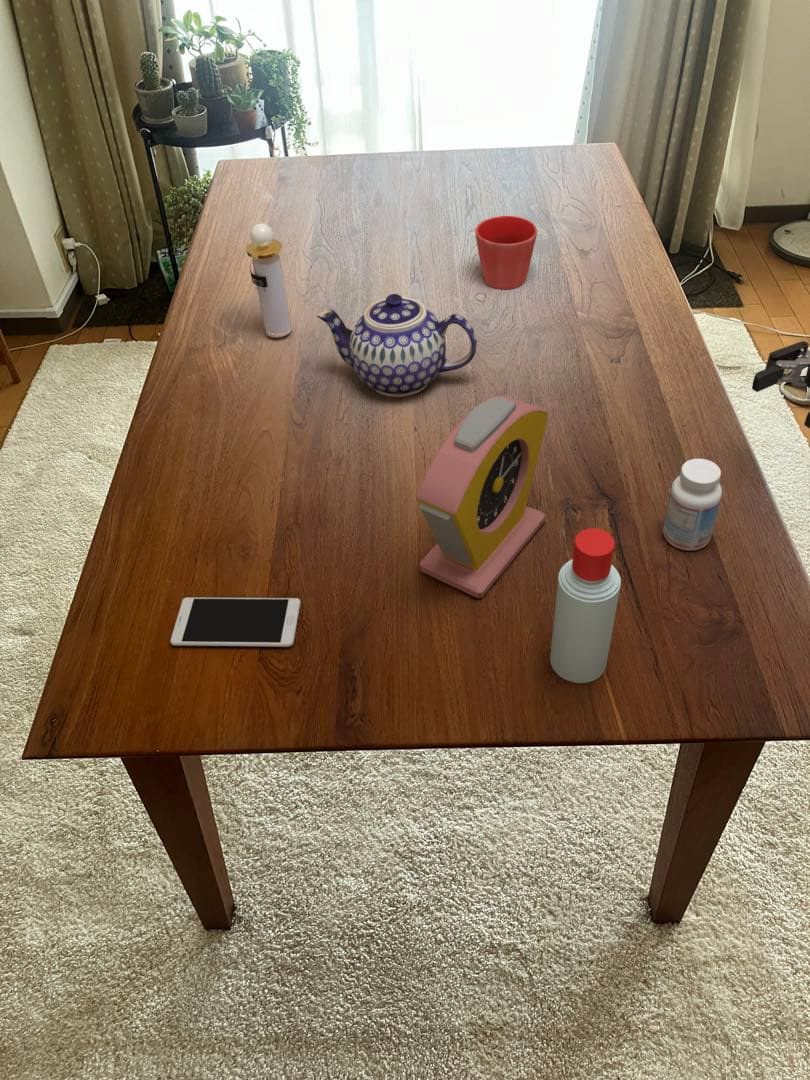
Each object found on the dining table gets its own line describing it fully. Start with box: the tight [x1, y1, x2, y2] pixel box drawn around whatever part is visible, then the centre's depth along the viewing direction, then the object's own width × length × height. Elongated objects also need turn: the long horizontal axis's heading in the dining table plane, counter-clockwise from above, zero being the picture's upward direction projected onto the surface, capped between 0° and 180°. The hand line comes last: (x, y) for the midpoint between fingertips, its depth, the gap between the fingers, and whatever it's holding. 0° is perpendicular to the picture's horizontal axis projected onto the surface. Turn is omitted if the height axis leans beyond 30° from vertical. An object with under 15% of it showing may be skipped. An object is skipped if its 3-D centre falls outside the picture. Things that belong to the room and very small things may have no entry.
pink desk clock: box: [416, 395, 549, 599], centre depth 109 cm, size 22×9×22 cm, turn 145°
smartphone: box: [169, 596, 302, 648], centre depth 109 cm, size 8×1×15 cm
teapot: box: [316, 293, 478, 398], centre depth 139 cm, size 25×15×15 cm, turn 76°
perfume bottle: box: [245, 222, 292, 338], centre depth 148 cm, size 6×6×20 cm
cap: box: [572, 527, 616, 581], centre depth 90 cm, size 4×4×4 cm
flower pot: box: [474, 215, 538, 290], centre depth 161 cm, size 11×11×10 cm
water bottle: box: [549, 558, 622, 684], centre depth 96 cm, size 6×6×19 cm
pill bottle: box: [662, 458, 723, 552], centre depth 112 cm, size 6×6×11 cm
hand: (780, 402), depth 108 cm, fingers open, 8 cm apart
